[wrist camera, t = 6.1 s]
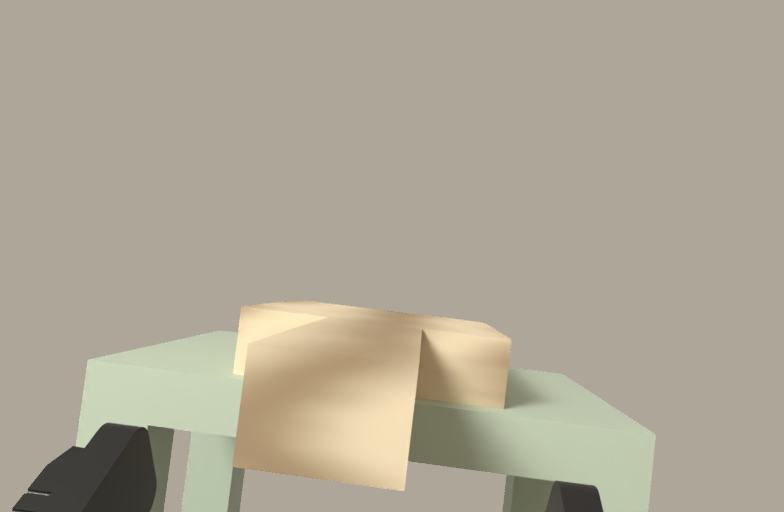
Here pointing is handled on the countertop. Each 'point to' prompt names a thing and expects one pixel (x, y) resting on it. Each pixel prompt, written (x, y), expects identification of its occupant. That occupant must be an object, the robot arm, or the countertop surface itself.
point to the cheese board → (353, 386)
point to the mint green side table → (428, 435)
